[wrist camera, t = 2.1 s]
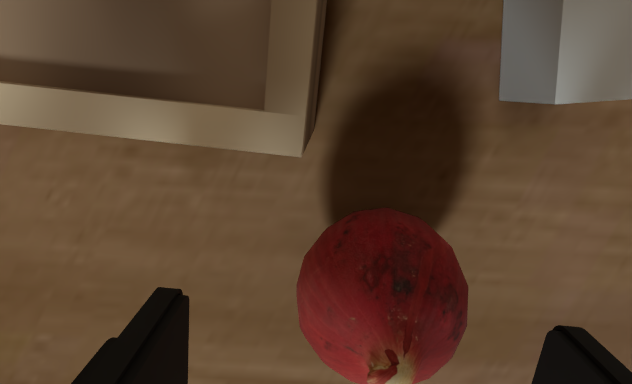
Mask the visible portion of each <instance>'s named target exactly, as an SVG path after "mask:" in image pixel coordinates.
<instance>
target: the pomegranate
mask: <svg viewBox="0 0 632 384" xmlns="http://www.w3.org/2000/svg"><path fill="white" fill-rule="evenodd" d="M297 304H298V313H299V323H300V328H301V330H302V332H303V334H304V336H305V338H306V339H307V341H308V342H309V343H310V345H311V346H312V348H313V349H314V350H315V352H316V353H317V354H318V356H319V357H320V359H321V360H322V361H323V362H324V363H325V364H326V365H327V366H329V367H330V368H332V369H333V370H335V371H336V372H338V373H339V374H341V375H342V376H344V377H345V378H347V379H348V380H350V381H352V382H355V383H359V384H414V383H417V382H420V381H423V380H426V379H429V378H430V377H431V376H432V375H434V374H435V373H436V372H437V371H438V370H439V369H440V368H441V367H443V366H444V365H445V364H446V363H447V362H448V361H449V360H450V359H451V358H452V357H453V355H454V353H455V351H456V348H457V346H458V344H459V342H460V340H461V338H462V336H463V334H464V332H465V329H466V327H467V307H468V285H467V283H466V280H465V278H464V275H463V273H462V270H461V268H460V266H459V263H458V261H457V258H456V256H455V254H454V251H453V249H452V247H451V246H450V245H449V244H448V243H447V242H446V241H445V240H444V239H443V238H442V237H441V236H440V235H439V234H437V233H436V232H435V231H434V230H433V229H432V228H431V227H430V226H429V225H428V224H427V223H426V222H424V221H423V220H422V219H420V218H419V217H416V216H413V215H409V214H406V213H403V212H400V211H397V210H394V209H390V208H378V209H370V210H362V211H354V212H352V213H351V214H349V215H347V216H346V217H344V218H343V219H341V220H339V221H338V222H336V223H334V224H333V225H331V226H330V227H328V228H327V229H326V230H325V231H324V232H323V233H322V234H321V236H320V237H319V238H318V240H317V241H316V242H315V243H314V245H313V246H312V247H311V249H310V250H309V251H308V252H307V254H306V255H305V256H304V260H303V263H302V267H301V271H300V275H299V278H298V282H297Z"/></svg>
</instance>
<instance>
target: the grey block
mask: <svg viewBox="0 0 632 384" xmlns="http://www.w3.org/2000/svg"><path fill="white" fill-rule="evenodd" d="M625 99H632V0H504V5H503V26H502V47H501V69H500V90H499V101H514V102H528V103H543V104H567V103H581V102H596V101H611V100H625Z"/></svg>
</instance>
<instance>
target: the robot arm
mask: <svg viewBox="0 0 632 384" xmlns="http://www.w3.org/2000/svg"><path fill="white" fill-rule="evenodd" d="M188 340H189V297H188V296H185V295H183V293H182V290H181V289H173V288H163V287H158V288H157V289H156V290H155V291H154V292H153V294H152V295H151V296H150V297H149V299H148V300H147V301H146V302H145V304H144V305H143V306H142V308H141V309H140V310H139V311H138V313H137V314H136V315H135V316H134V318H133V319H132V320H131V321H130V323H129V324H128V325H127V326H126V328H125V329H124V330H123V331H122V333H121V334H120V335H119V337H118V338H114V337H113V338H110V339H108V340H107V341H106V342H105V343H104V344H103V346H102V347H101V348H100V349H99V351H98V352H97V353H96V354H95V355H94V357H93V358H92V359H91V360H90V361H89V363H88V364H87V365H86V366H85V367H84V369H83V370H82V371H81V372H80V374H79V375H78V376H77V377H76V378H75V380H74V381H73V382H72V383H71V384H188ZM532 384H632V372H631V371H630V370H628V369H627V368H626V367H625V366H624V365H623V364H622V363H621V362H620V361H619V360H618V359H616V358H615V357H614V356H613V355H612V354H611V353H610V352H609V351H608V350H607V349H606V348H604V347H603V346H602V345H601V344H600V343H599V342H598V341H597V340H596V339H595V338H594V337H592V336H591V335H590V334H589V333H588V332H587V331H586V330H585V329H583V328H580V327H571V326H561V325H558V326H555V327H554V328H553V330H551V331H549V332H548V333H547V335H546V338H545V341H544V344H543V348H542V351H541V354H540V358H539V361H538V364H537V368H536V371H535V374H534V378H533V381H532Z"/></svg>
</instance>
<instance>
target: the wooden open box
mask: <svg viewBox="0 0 632 384" xmlns="http://www.w3.org/2000/svg"><path fill="white" fill-rule="evenodd" d="M326 6H327V0H0V124H4V125H13V126H22V127H31V128H41V129H50V130H59V131H68V132H77V133H86V134H95V135H104V136H113V137H122V138H131V139H140V140H149V141H158V142H167V143H176V144H185V145H195V146H204V147H213V148H222V149H231V150H240V151H249V152H258V153H267V154H276V155H285V156H294V157H302V155H303V153H304V151H305V149H306V146H307V144H308V142H309V140H310V137H311V135H312V133H313V131H314V124H315V114H316V104H317V94H318V85H319V75H320V65H321V55H322V45H323V36H324V26H325V16H326Z"/></svg>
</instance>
